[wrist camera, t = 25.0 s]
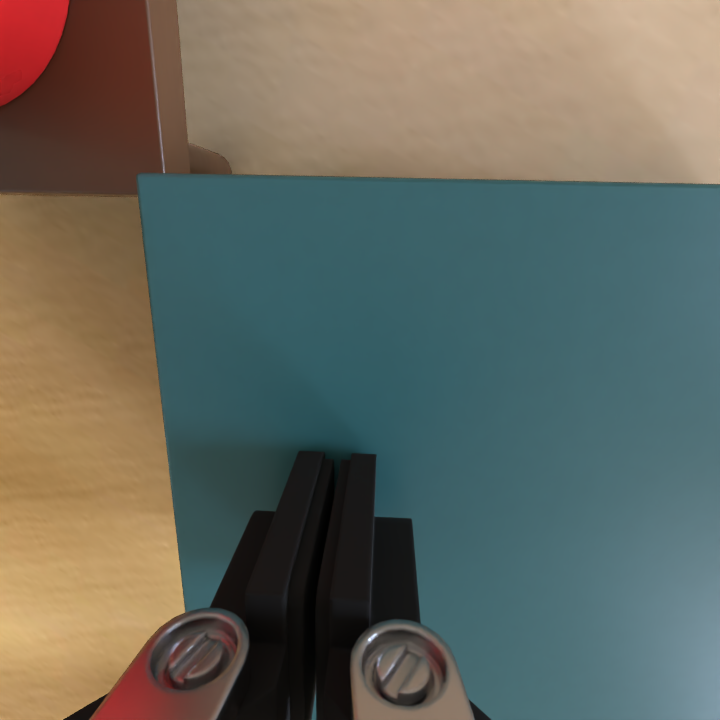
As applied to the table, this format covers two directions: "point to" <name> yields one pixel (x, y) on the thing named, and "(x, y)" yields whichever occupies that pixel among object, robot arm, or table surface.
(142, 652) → the robot arm
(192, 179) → the lid
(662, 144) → the table surface
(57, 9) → the soda can
